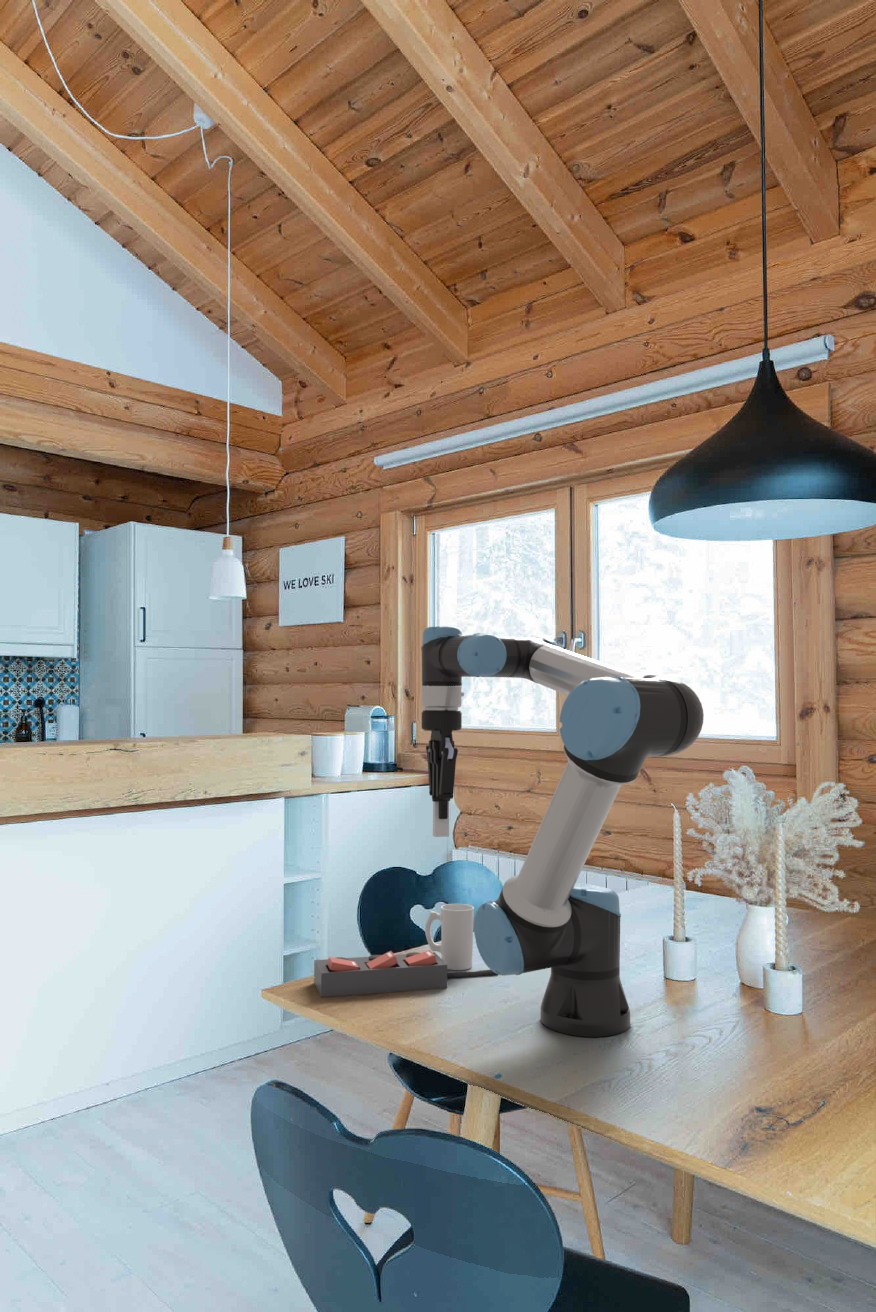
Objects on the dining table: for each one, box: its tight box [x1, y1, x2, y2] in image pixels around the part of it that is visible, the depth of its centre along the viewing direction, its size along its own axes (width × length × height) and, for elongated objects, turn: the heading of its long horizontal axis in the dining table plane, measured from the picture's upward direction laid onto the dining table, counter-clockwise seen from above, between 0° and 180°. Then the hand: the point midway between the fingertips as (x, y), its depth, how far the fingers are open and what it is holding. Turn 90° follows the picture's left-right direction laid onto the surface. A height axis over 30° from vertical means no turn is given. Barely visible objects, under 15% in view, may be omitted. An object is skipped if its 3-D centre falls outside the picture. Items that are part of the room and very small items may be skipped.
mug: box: [424, 903, 475, 971], centre depth 195 cm, size 10×7×12 cm, turn 80°
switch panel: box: [313, 951, 497, 998], centre depth 183 cm, size 9×36×5 cm, turn 106°
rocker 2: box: [366, 950, 398, 969], centre depth 180 cm, size 4×5×2 cm
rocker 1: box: [327, 956, 359, 971], centre depth 178 cm, size 4×5×2 cm
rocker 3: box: [404, 949, 436, 966], centre depth 182 cm, size 4×5×2 cm
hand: (440, 835), depth 177 cm, fingers closed
